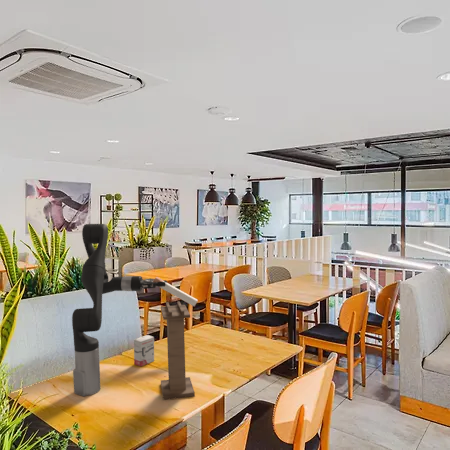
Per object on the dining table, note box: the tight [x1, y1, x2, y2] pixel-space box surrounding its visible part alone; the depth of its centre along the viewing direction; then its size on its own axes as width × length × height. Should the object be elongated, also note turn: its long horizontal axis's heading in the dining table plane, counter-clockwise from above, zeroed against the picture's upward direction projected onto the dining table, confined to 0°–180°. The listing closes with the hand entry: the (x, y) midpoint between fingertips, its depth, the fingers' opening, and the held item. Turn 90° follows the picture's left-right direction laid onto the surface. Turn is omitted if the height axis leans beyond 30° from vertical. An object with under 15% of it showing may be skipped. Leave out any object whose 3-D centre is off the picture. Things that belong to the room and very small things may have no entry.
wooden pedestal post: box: [160, 300, 196, 401], centre depth 155 cm, size 16×12×34 cm
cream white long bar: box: [153, 276, 199, 307], centre depth 197 cm, size 24×3×3 cm, turn 89°
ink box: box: [133, 334, 155, 367], centre depth 184 cm, size 9×5×12 cm, turn 143°
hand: (165, 283), depth 197 cm, fingers closed on cream white long bar, 3 cm apart
